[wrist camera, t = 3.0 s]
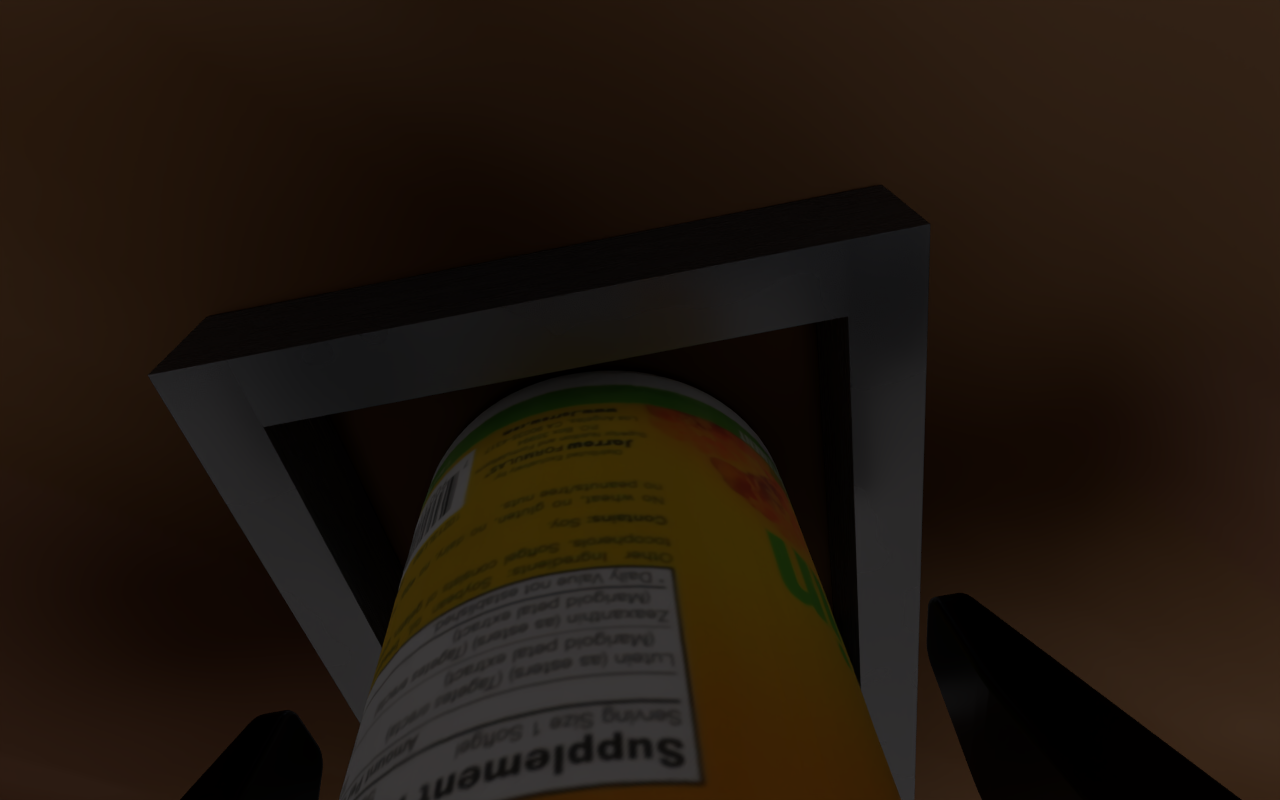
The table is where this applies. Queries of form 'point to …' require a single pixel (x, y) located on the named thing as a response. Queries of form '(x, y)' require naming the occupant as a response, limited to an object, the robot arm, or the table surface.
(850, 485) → the divided tray
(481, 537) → the supplement bottle
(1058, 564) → the table surface
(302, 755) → the robot arm
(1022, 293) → the table surface
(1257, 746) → the table surface
